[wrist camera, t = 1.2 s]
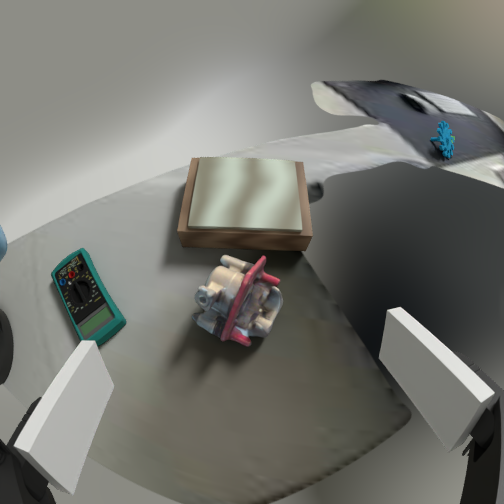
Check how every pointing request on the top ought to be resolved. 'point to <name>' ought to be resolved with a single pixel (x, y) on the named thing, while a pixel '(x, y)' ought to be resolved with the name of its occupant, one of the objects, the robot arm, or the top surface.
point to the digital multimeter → (87, 298)
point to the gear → (445, 139)
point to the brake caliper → (238, 301)
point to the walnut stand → (245, 205)
